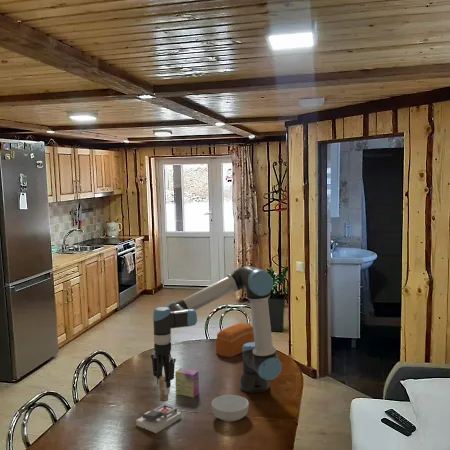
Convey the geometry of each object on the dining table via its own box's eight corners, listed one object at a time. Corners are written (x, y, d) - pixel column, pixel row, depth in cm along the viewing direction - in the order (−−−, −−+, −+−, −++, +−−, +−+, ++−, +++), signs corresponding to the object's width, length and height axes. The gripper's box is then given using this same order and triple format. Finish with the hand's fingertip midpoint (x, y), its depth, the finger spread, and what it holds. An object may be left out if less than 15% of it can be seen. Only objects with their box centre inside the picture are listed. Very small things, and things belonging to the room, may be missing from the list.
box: (199, 393, 243) (198, 370, 242) (193, 397, 238) (193, 374, 237) (181, 389, 248) (180, 367, 247) (175, 394, 243) (174, 371, 242)
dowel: (169, 399, 218) (169, 375, 217) (164, 402, 215) (163, 378, 214) (164, 397, 220) (163, 373, 219) (158, 400, 217) (157, 376, 216)
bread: (213, 353, 299) (213, 329, 297) (240, 342, 318) (240, 319, 317) (231, 358, 290) (230, 333, 288) (257, 346, 309) (256, 322, 308)
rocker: (162, 415, 211) (161, 411, 211) (155, 419, 207) (154, 415, 207) (149, 414, 216) (149, 410, 216) (142, 418, 212) (142, 414, 212)
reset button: (171, 413, 219) (171, 410, 219) (165, 416, 215) (165, 413, 215) (164, 411, 221) (164, 407, 221) (158, 414, 218) (158, 411, 218)
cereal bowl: (236, 430, 206) (236, 414, 206) (204, 421, 215) (204, 405, 214) (255, 413, 221) (255, 399, 220) (224, 405, 229) (224, 391, 229)
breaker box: (181, 417, 218) (180, 408, 218) (156, 433, 205) (155, 423, 205) (161, 411, 225) (161, 402, 225) (136, 425, 212) (136, 416, 212)
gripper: (181, 343, 214) (183, 394, 216) (155, 336, 223) (156, 385, 225) (170, 348, 208) (171, 400, 210) (143, 341, 217) (145, 391, 219)
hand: (164, 392), depth 217 cm, fingers closed on dowel, 3 cm apart
